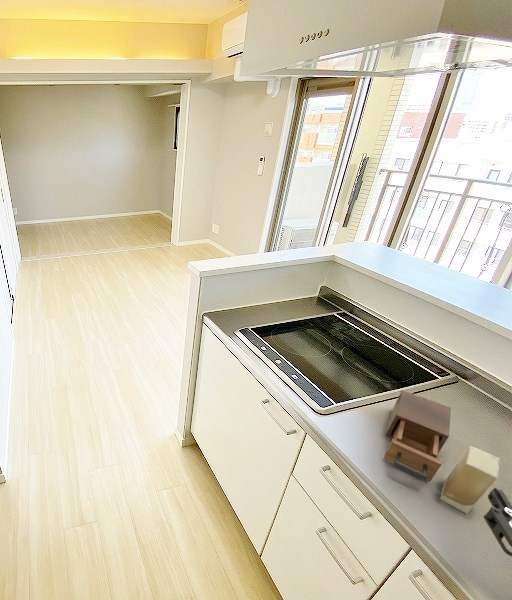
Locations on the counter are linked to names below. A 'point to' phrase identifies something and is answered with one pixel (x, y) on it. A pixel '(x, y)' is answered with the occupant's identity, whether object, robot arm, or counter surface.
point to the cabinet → (420, 415)
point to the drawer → (414, 450)
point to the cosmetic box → (470, 479)
